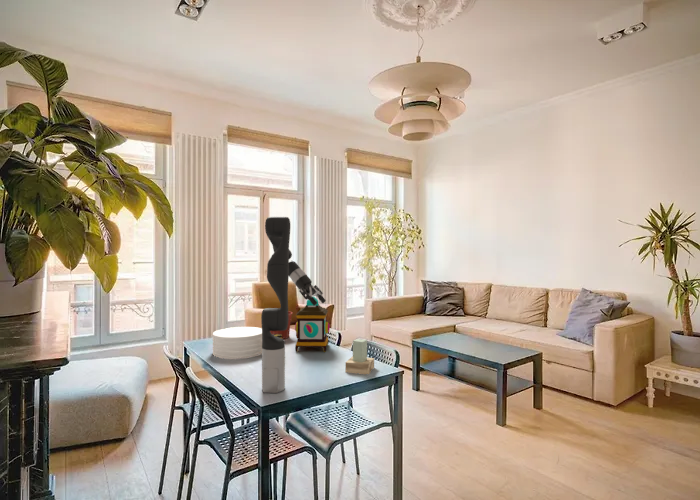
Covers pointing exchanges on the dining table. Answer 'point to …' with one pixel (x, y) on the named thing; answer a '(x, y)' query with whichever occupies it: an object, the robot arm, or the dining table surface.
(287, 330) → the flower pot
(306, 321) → the decorative lantern
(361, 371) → the oak block
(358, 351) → the sage pillar
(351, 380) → the dining table surface
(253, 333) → the plate stack
